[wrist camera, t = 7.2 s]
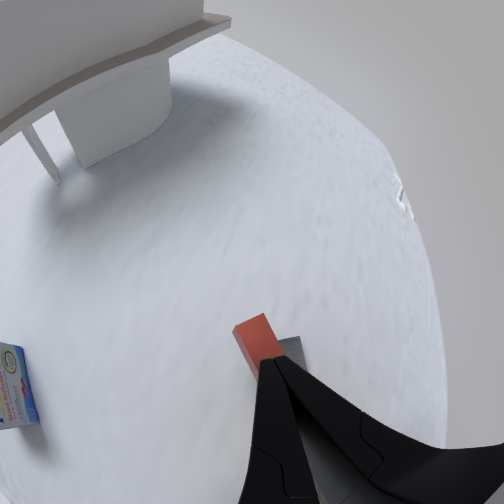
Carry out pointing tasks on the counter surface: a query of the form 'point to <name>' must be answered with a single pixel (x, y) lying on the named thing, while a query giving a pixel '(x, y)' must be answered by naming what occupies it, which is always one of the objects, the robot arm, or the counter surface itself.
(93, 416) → the counter surface
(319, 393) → the robot arm
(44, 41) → the architectural model
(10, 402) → the medicine box
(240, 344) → the lever
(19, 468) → the counter surface
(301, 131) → the counter surface
